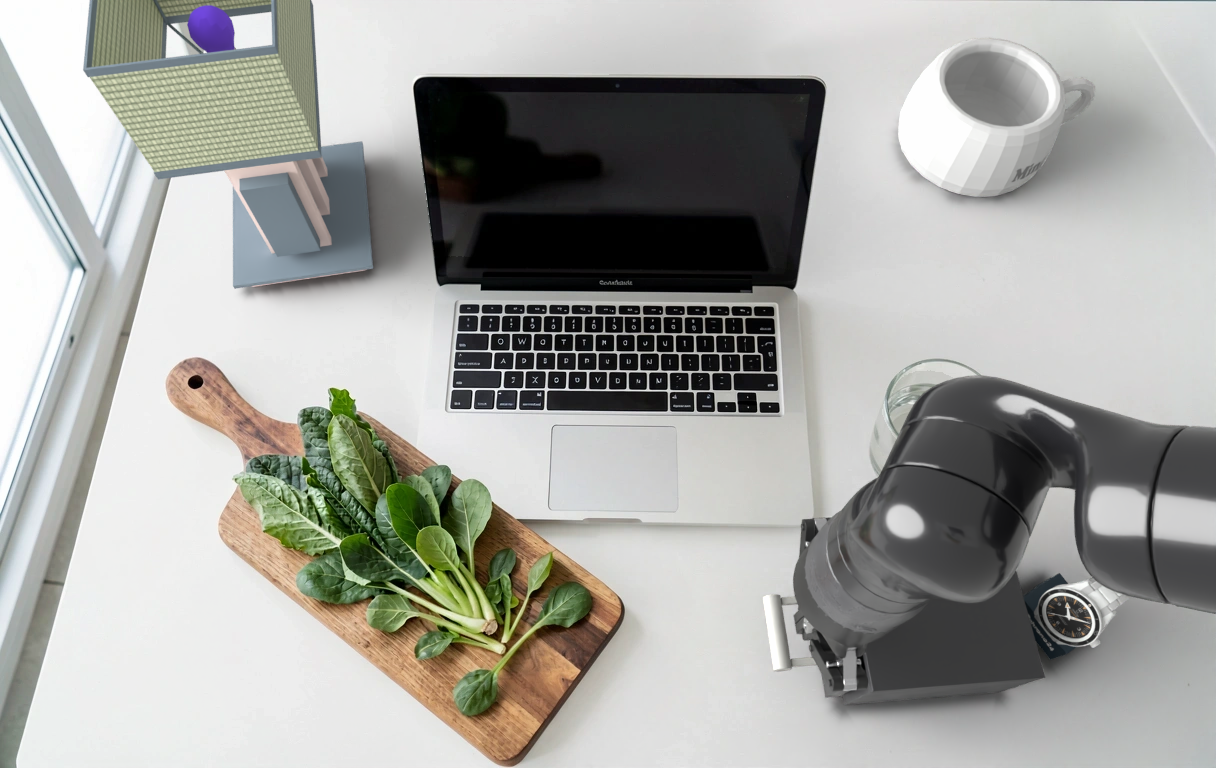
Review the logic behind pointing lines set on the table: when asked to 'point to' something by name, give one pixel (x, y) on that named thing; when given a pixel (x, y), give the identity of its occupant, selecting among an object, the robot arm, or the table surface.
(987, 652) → the grey square sleeve
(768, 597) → the drawer
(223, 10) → the desk lamp
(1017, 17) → the table surface
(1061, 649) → the watch
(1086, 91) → the mug
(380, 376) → the table surface
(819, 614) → the robot arm
